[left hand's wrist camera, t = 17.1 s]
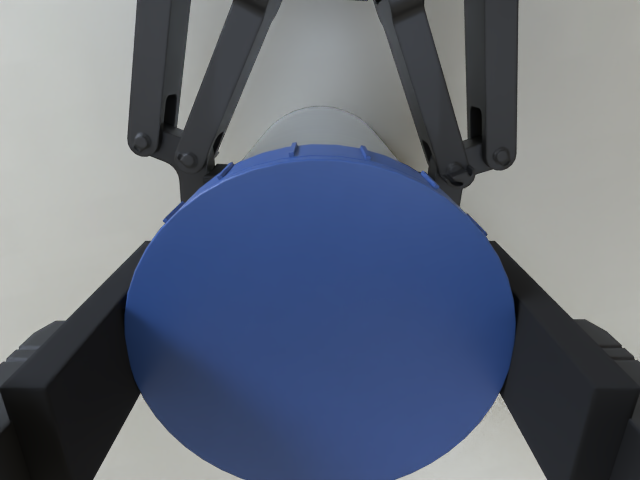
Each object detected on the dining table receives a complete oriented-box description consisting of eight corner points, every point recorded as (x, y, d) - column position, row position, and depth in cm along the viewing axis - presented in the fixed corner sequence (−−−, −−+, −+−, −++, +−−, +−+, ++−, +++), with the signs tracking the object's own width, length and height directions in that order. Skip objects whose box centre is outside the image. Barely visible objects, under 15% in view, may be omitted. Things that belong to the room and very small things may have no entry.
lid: (87, 207, 11) (43, 233, 9) (454, 89, 10) (483, 95, 8) (225, 467, 14) (211, 523, 12) (514, 398, 13) (543, 449, 11)
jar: (324, 73, 24) (333, 86, 9) (418, 182, 26) (554, 344, 11) (221, 174, 26) (81, 327, 11) (316, 268, 28) (311, 504, 13)
